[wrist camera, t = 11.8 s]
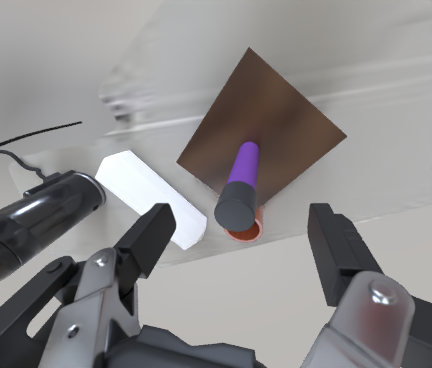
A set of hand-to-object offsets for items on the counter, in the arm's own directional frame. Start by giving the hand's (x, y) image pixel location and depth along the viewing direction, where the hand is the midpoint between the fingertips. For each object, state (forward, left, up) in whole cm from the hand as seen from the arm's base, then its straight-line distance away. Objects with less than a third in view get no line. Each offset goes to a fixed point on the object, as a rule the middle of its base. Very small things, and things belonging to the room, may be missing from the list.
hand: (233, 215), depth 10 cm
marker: (0, 0, -11) cm, 11 cm away
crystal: (-6, -21, -19) cm, 29 cm away
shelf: (0, 0, -19) cm, 19 cm away
